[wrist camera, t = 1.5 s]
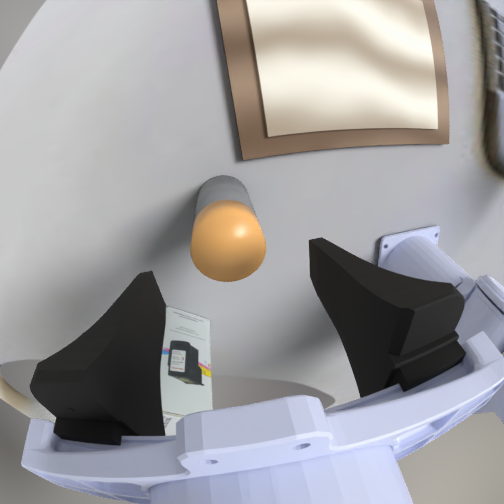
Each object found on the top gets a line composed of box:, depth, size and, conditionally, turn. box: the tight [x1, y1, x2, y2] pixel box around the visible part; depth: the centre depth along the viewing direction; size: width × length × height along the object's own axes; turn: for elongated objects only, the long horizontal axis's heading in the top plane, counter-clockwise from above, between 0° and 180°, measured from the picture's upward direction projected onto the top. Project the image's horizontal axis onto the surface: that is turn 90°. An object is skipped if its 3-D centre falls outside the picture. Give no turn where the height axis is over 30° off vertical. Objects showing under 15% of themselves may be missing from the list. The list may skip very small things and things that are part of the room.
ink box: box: [160, 307, 213, 436], centre depth 24 cm, size 9×5×12 cm, turn 153°
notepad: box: [216, 0, 449, 160], centre depth 16 cm, size 16×20×1 cm
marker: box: [190, 175, 266, 282], centre depth 18 cm, size 4×4×8 cm
